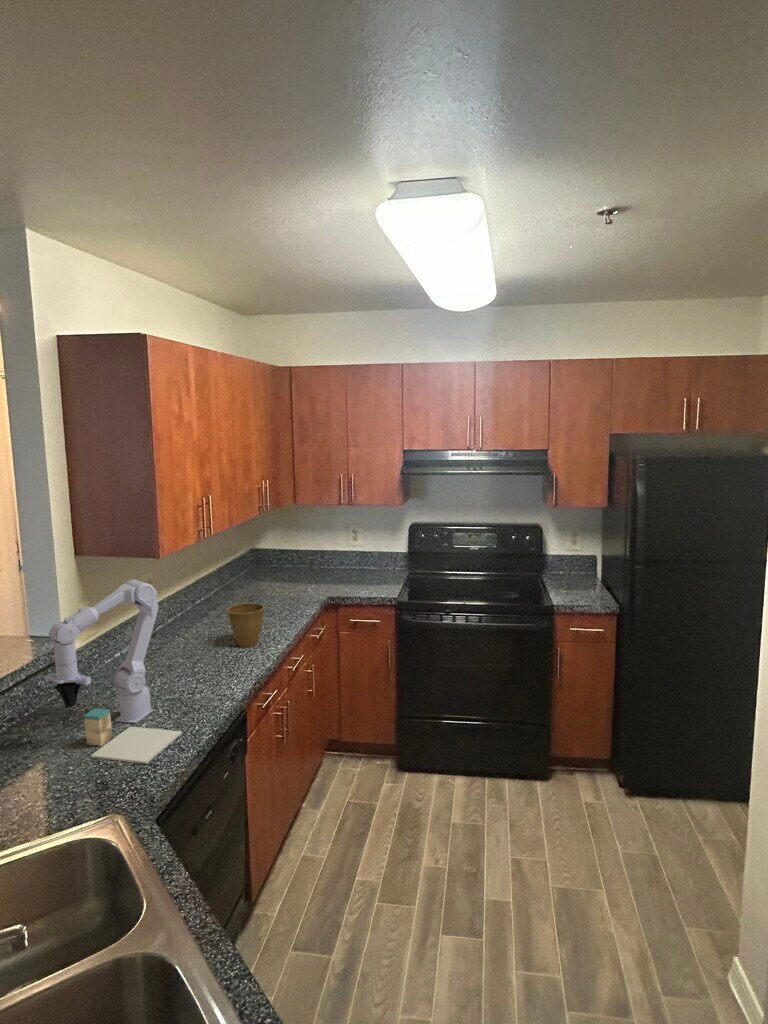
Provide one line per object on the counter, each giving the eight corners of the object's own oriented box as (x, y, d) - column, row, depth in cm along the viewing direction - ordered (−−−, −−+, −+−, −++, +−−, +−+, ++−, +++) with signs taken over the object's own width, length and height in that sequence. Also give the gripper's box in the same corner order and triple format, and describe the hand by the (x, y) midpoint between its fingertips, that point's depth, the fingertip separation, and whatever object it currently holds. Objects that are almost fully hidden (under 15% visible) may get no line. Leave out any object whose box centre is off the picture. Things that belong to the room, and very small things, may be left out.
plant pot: (223, 650, 271) (221, 612, 269) (240, 638, 285) (237, 602, 283) (257, 651, 268) (254, 613, 265) (271, 639, 282) (269, 603, 280)
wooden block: (98, 736, 199) (95, 708, 197) (112, 738, 197) (109, 709, 196) (87, 744, 194) (84, 715, 193) (101, 746, 193) (98, 717, 191)
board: (130, 728, 203) (130, 726, 203) (182, 733, 199) (181, 731, 199) (90, 757, 186) (90, 755, 186) (146, 763, 181) (146, 761, 181)
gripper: (35, 665, 193) (40, 709, 195) (77, 668, 189) (82, 713, 191) (53, 657, 199) (57, 699, 201) (93, 659, 196) (98, 703, 198)
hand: (70, 705), depth 197 cm, fingers closed
